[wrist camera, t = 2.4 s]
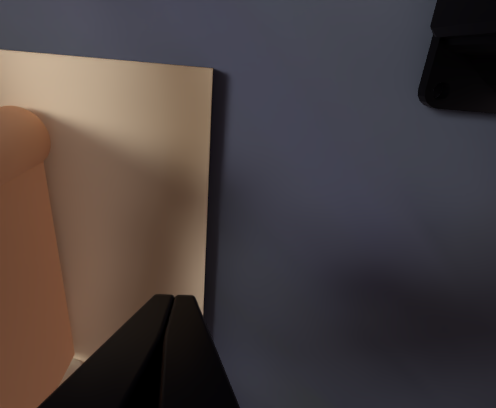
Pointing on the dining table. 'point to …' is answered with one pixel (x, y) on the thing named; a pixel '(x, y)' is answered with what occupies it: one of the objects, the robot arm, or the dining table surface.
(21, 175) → the gate panel
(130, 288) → the card
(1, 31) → the dining table surface
